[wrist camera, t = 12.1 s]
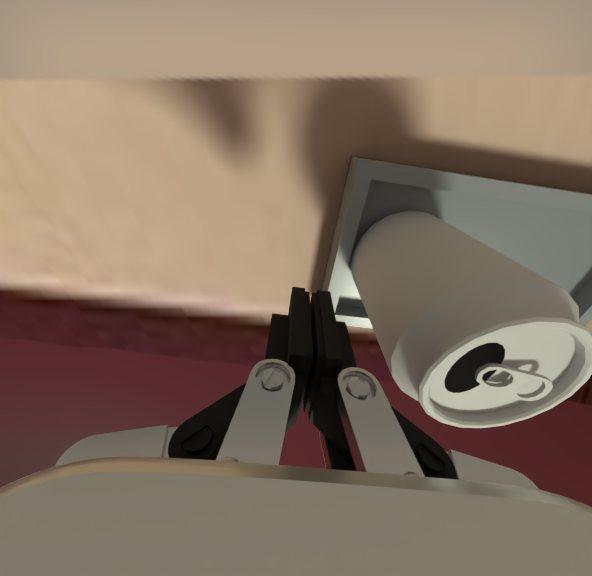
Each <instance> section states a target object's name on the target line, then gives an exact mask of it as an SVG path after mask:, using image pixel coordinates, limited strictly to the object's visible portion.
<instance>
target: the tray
mask: <svg viewBox="0 0 592 576" xmlns="http://www.w3.org/2000/svg"><path fill="white" fill-rule="evenodd" d="M404 211H422V212H426V213H429V214H431V215H433V216H435V217H437V218H439V219H441V220H443V221H445V222H447V223H448V224H450V225H452V226H454V227H455V228H457V229H459V230H461V231H462V232H464V233H466V234H468V235H470V236H471V237H473V238H475V239H477V240H478V241H480V242H482V243H484V244H485V245H487V246H489V247H491V248H492V249H494V250H496V251H498V252H500V253H501V254H503V255H505V256H507V257H508V258H510V259H512V260H514V261H515V262H517V263H519V264H521V265H523V266H524V267H526V268H528V269H530V270H531V271H533V272H535V273H537V274H538V275H540V276H542V277H544V278H546V279H547V280H549V281H551V282H553V283H554V284H556V285H558V286H560V287H561V288H563V289H565V290H566V291H567V292H568V293H569V295H570V296H571V297H572V299H573V300H574V301H575V303H576V304H577V305H578V307H579V323H580V324H583V325H586V324H587V323H588V322H589V321H590V320H591V319H592V194H591V193H585V192H578V191H572V190H566V189H559V188H553V187H546V186H540V185H533V184H527V183H521V182H514V181H508V180H501V179H495V178H488V177H482V176H476V175H469V174H463V173H456V172H450V171H443V170H437V169H431V168H424V167H418V166H411V165H405V164H398V163H392V162H386V161H379V160H373V159H366V158H360V157H353V156H351V161H350V165H349V170H348V174H347V179H346V183H345V188H344V192H343V197H342V201H341V206H340V210H339V215H338V219H337V224H336V228H335V233H334V237H333V242H332V246H331V251H330V255H329V259H328V264H327V268H326V273H325V277H324V282H323V286H322V290H323V291H330V293H331V298H332V303H333V308H334V313H335V318H336V321H341V322H345V323H346V326H356V327H365V328H373V327H372V325H371V322H370V320H369V317H368V315H367V312H366V310H365V307H364V305H363V302H362V300H361V297H360V295H359V292H358V290H357V287H356V285H355V282H354V280H353V276H352V270H351V261H352V256H353V251H354V249H355V247H356V245H357V243H358V242H359V240H360V238H361V236H362V235H363V234H364V233H365V232H366V231H367V230H368V229H369V228H370V227H371V226H372V225H373V224H375V223H376V222H378V221H380V220H382V219H384V218H385V217H387V216H389V215H391V214H396V213H400V212H404Z"/></svg>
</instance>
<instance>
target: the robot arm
mask: <svg viewBox="0 0 592 576" xmlns="http://www.w3.org/2000/svg"><path fill="white" fill-rule="evenodd" d="M302 401H303V403H304V412H309V422H313V424H314V425H315V426H316V427H317V428H318V429H319V431H320V441H321V445H322V451H323V455H324V460H325V465H326V469H322V468H309V467H296V466H283V465H278V464H279V459H280V454H281V449H282V444H283V439H284V434H285V432H286V431H287V430H288V429H289V428H290V427H291V426H293V425H294V424H295V423H296V420H297V415H298V411H299V412H300V409H301V405H302ZM0 576H592V507H589V506H587V505H585V504H583V503H580V502H577V501H574V500H572V499H569V498H566V497H563V496H560V495H557V494H553V493H550V492H546V491H541V490H539V489H538V487H537V486H536V485H535V484H534V483H533V482H532V481H531V480H529V479H528V478H527V477H525V476H524V475H522V474H521V473H519V472H517V471H515V470H513V469H510V468H506V467H504V466H500V465H497V464H494V463H491V462H488V461H485V460H482V459H479V458H475V457H473V456H469V455H466V454H463V453H460V452H457V451H454V450H450V451H449V452H446V451H445V450H444V449H443V448H442V447H441V446H440V445H439V444H438V443H437V442H436V441H434V440H433V439H432V438H431V437H429V436H428V435H427V434H426V433H424V432H423V431H422V430H420V429H419V428H418V427H416V426H415V425H414V424H413V423H412V422H410V421H409V420H408V419H407V418H405V417H404V416H403V415H402V414H400V413H399V412H398V411H396V410H395V409H394V408H393V407H391V406H390V404H389V402H388V400H387V398H386V396H385V394H384V392H383V390H382V388H381V386H380V384H379V382H378V381H377V379H376V378H375V377H374V376H373V375H372V374H371V373H369V372H367V371H366V370H363V369H361V368H357V366H356V362H355V358H354V354H353V350H352V346H351V342H350V338H349V334H348V330H347V326H346V323H345V322H341V321H336V318H335V313H334V308H333V303H332V298H331V293H330V291H323V290H317V293H312V297H311V302H310V296H309V292H305V288H298V287H293V288H292V294H291V301H290V307H289V314H288V315H280V314H272V319H271V325H270V331H269V338H268V344H267V351H266V357H265V360H263V361H261V362H259V363H258V364H256V365H255V366H254V368H253V369H252V371H251V373H250V376H249V378H248V381H247V383H245V384H243V385H242V386H240V387H239V388H237V389H235V390H234V391H232V392H231V393H229V394H228V395H226V396H224V397H223V398H221V399H220V400H218V401H216V402H215V403H213V404H212V405H210V406H209V407H207V408H205V409H204V410H202V411H201V412H199V413H197V414H196V415H194V416H193V417H191V418H190V419H188V420H186V421H185V422H184V423H183V424H181V425H180V426H179V427H174V428H168V426H167V425H164V426H156V427H149V428H143V429H135V430H128V431H121V432H114V433H106V434H99V435H94V436H90V437H87V438H84V439H82V440H81V441H79V442H77V443H75V444H74V445H73V446H71V447H70V448H69V449H68V450H67V451H66V452H64V453H63V455H62V456H61V458H60V459H59V460H58V462H57V463H56V465H55V467H52V468H49V469H47V470H43V471H40V472H37V473H34V474H32V475H29V476H27V477H24V478H22V479H19V480H17V481H15V482H12V483H10V484H8V485H6V486H4V487H2V488H0Z"/></svg>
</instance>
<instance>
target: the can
mask: <svg viewBox="0 0 592 576" xmlns="http://www.w3.org/2000/svg"><path fill="white" fill-rule="evenodd" d="M351 270H352V276H353V280H354V282H355V285H356V287H357V290H358V292H359V295H360V297H361V300H362V302H363V305H364V307H365V310H366V312H367V315H368V317H369V320H370V322H371V325H372V327H373V330H374V332H375V335H376V337H377V340H378V342H379V345H380V347H381V350H382V352H383V355H384V357H385V359H386V362H387V364H388V367H389V369H390V372H391V374H392V377H393V378H394V380H395V381H396V383H397V385H398V386H399V388H400V389H401V390H402V391H403V392H405V393H406V394H408V395H409V396H411V397H412V398H414V399H416V400H418V401H419V402H420V404H421V405H422V407H423V408H424V410H425V412H426V413H427V414H428V415H430V416H431V417H433V418H435V419H436V420H438V421H439V422H442V423H445V424H449V425H453V426H457V427H463V428H485V427H494V426H502V425H506V424H510V423H514V422H517V421H521V420H524V419H528V418H530V417H533V416H535V415H537V414H540V413H542V412H544V411H546V410H549V409H551V408H553V407H554V406H556V405H557V404H559V403H561V402H562V401H564V400H565V399H567V398H568V397H570V396H571V395H573V394H574V393H575V392H576V391H577V390H578V389H579V388H580V387H581V386H582V385H583V384H584V383H585V382H586V381H587V380H588V379H589V378H590V376H591V374H592V332H591V331H590V329H589V328H588V327H587V326H585V325H583V324H580V323H579V307H578V305H577V304H576V303H575V301H574V300H573V299H572V297H571V296H570V295H569V293H568V292H567V291H566V290H565V289H563V288H561V287H560V286H558V285H556V284H554V283H553V282H551V281H549V280H547V279H546V278H544V277H542V276H540V275H538V274H537V273H535V272H533V271H531V270H530V269H528V268H526V267H524V266H523V265H521V264H519V263H517V262H515V261H514V260H512V259H510V258H508V257H507V256H505V255H503V254H501V253H500V252H498V251H496V250H494V249H492V248H491V247H489V246H487V245H485V244H484V243H482V242H480V241H478V240H477V239H475V238H473V237H471V236H470V235H468V234H466V233H464V232H462V231H461V230H459V229H457V228H455V227H454V226H452V225H450V224H448V223H447V222H445V221H443V220H441V219H439V218H437V217H435V216H433V215H431V214H429V213H426V212H422V211H404V212H400V213H396V214H391V215H389V216H387V217H385V218H384V219H382V220H380V221H378V222H376V223H375V224H373V225H372V226H371V227H370V228H369V229H368V230H367V231H366V232H365V233H364V234H363V235H362V236H361V238H360V240H359V242H358V243H357V245H356V247H355V249H354V251H353V256H352V261H351Z"/></svg>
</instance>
